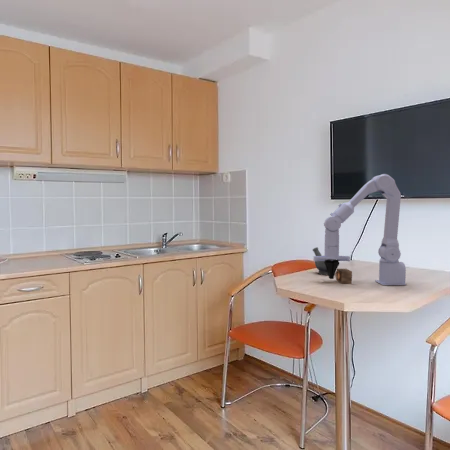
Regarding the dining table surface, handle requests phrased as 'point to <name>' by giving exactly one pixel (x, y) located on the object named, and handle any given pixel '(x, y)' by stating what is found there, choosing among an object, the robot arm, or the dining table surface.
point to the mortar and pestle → (320, 263)
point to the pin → (338, 275)
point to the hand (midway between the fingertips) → (331, 278)
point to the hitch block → (345, 276)
